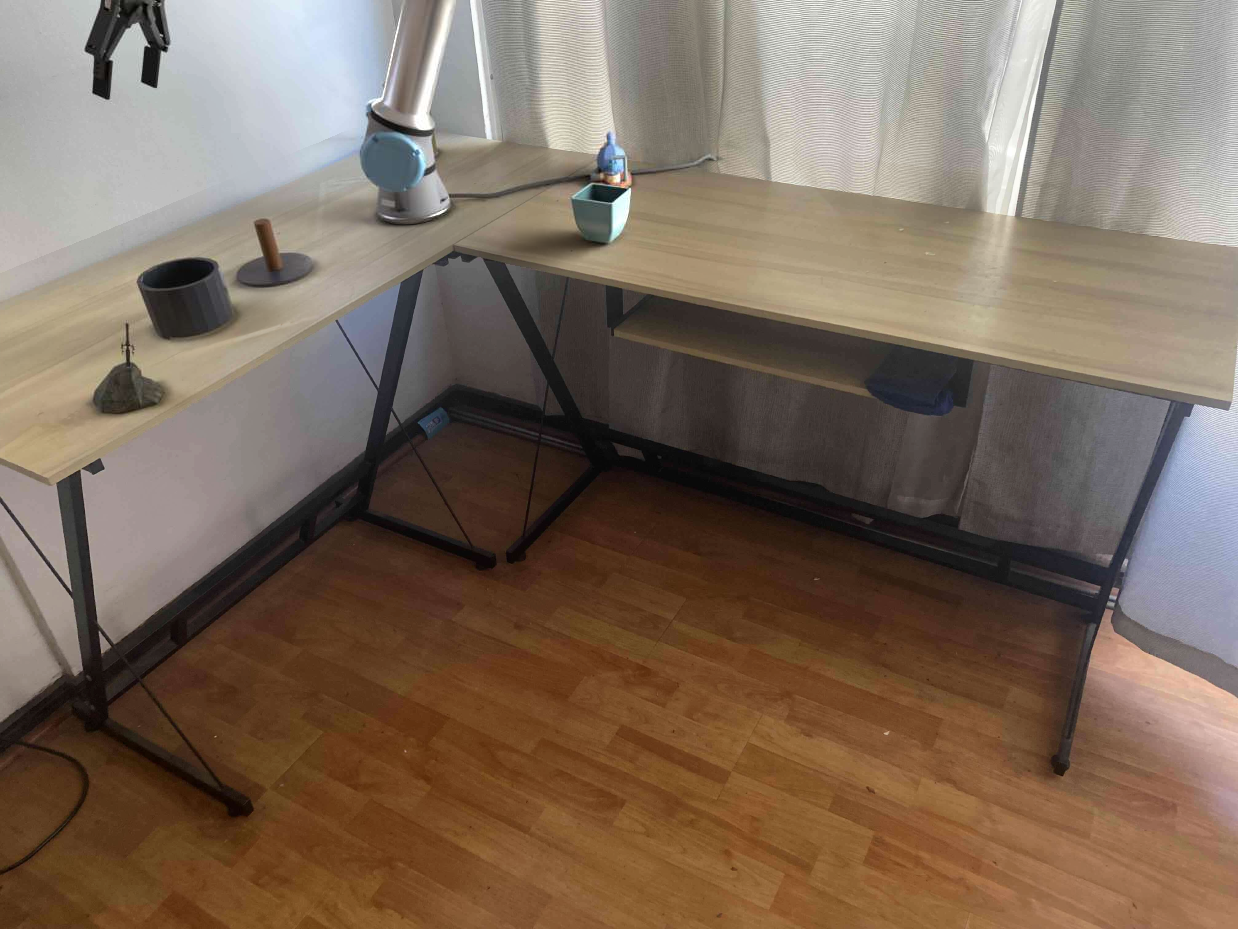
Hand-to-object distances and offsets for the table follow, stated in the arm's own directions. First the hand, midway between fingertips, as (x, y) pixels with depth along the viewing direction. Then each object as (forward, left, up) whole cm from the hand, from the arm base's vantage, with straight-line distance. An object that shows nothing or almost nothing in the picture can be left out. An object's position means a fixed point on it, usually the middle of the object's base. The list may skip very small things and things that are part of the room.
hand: (125, 90), depth 162 cm
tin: (+4, +32, -31) cm, 44 cm away
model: (-88, +19, -31) cm, 95 cm away
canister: (-61, -27, -31) cm, 73 cm away
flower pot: (-70, +45, -31) cm, 88 cm away
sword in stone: (+18, +52, -31) cm, 63 cm away
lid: (-13, +21, -30) cm, 39 cm away
